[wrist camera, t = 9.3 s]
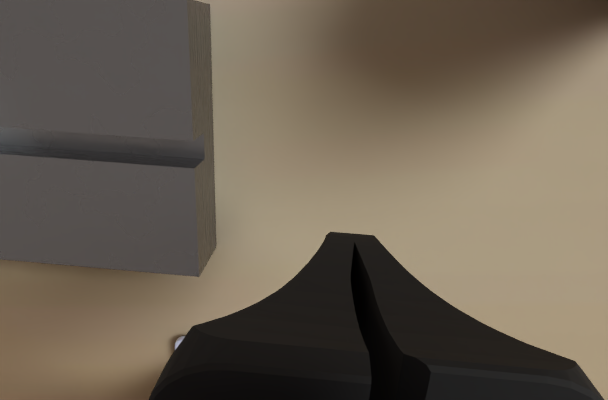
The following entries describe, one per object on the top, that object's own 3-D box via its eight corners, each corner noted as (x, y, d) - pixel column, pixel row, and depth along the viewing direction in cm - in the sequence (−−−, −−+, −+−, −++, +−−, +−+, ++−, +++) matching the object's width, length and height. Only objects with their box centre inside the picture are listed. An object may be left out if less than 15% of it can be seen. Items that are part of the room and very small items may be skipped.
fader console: (216, 247, 23) (198, 277, 20) (-115, 219, 24) (-177, 244, 21) (209, 4, 18) (185, -2, 15) (-197, -18, 19) (-290, -28, 16)
